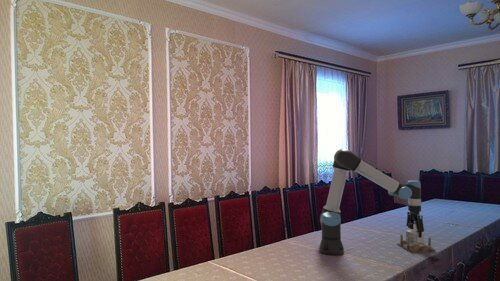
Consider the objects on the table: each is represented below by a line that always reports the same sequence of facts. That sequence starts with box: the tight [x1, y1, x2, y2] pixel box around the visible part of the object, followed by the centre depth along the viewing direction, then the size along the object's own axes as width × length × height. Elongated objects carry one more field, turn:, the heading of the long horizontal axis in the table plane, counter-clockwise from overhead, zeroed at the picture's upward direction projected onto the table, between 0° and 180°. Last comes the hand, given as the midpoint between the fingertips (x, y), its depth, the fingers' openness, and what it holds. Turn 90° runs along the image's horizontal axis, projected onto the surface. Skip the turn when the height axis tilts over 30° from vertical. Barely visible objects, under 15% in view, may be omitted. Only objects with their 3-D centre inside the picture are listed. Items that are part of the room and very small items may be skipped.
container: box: [405, 221, 426, 245], centre depth 220 cm, size 8×8×13 cm
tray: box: [396, 234, 436, 253], centre depth 219 cm, size 16×16×8 cm
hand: (415, 240), depth 220 cm, fingers closed on container, 9 cm apart
